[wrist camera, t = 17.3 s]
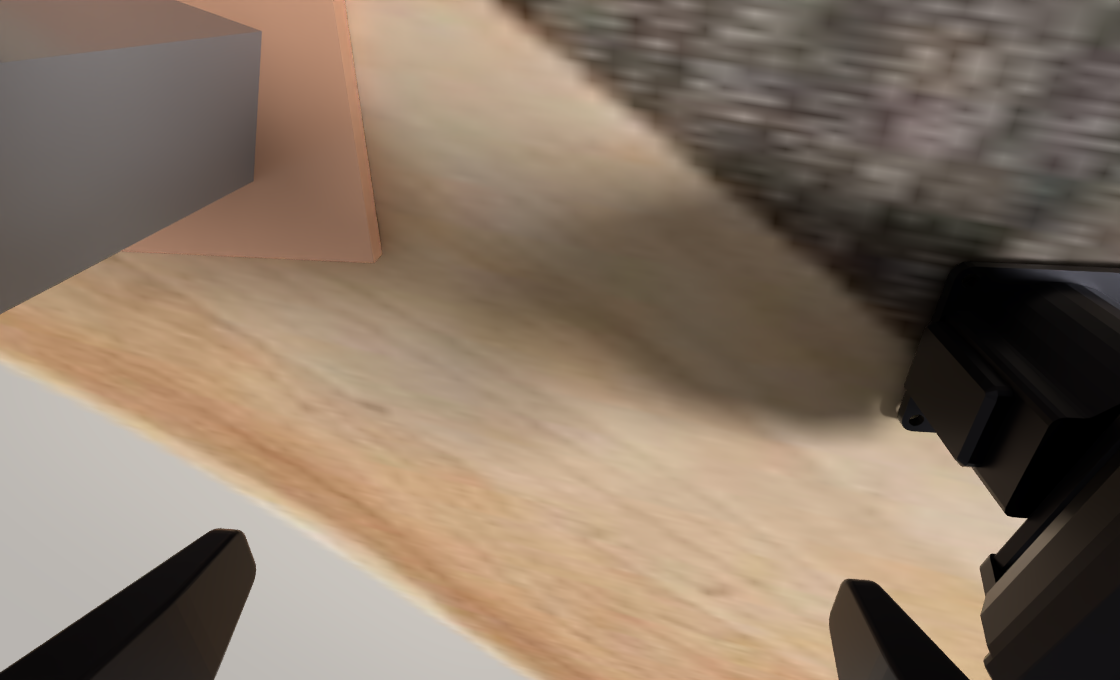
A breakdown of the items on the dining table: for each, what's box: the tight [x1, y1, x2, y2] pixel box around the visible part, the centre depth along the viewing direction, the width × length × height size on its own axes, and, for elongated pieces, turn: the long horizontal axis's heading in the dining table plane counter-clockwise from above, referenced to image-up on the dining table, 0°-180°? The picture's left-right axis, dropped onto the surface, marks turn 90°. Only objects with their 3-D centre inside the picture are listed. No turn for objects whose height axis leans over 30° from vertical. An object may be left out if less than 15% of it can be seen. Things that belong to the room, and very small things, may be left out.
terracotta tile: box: [122, 0, 382, 263], centre depth 18 cm, size 10×11×1 cm
